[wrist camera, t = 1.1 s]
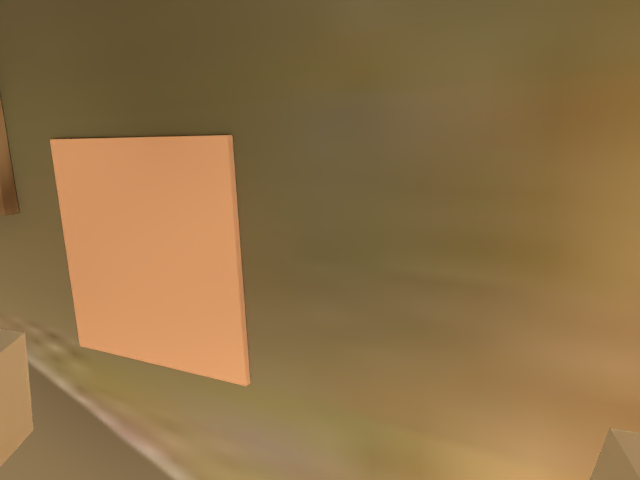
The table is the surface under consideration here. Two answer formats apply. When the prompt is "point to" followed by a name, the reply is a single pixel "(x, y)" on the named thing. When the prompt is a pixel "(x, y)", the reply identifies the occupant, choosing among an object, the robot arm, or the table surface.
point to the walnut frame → (6, 174)
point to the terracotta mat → (156, 250)
